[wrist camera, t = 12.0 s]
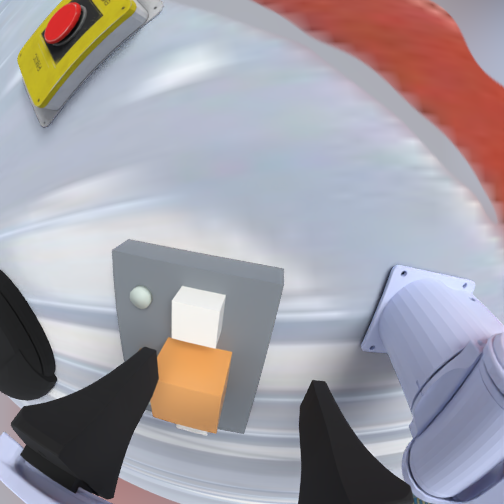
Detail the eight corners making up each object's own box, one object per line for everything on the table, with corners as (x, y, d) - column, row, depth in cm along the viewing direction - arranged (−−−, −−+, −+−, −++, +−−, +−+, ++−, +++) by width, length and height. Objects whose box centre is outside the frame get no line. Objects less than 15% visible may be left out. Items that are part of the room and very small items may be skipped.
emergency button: (147, -15, 9) (14, 133, 13) (170, 10, 14) (48, 131, 18) (105, -50, 7) (-5, 73, 11) (127, -31, 11) (24, 76, 15)
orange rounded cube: (232, 351, 19) (221, 396, 15) (225, 392, 21) (216, 433, 17) (168, 337, 19) (146, 376, 15) (170, 378, 21) (152, 416, 17)
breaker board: (283, 268, 19) (284, 300, 15) (246, 415, 26) (241, 448, 22) (128, 239, 20) (96, 260, 16) (142, 390, 26) (127, 418, 22)
